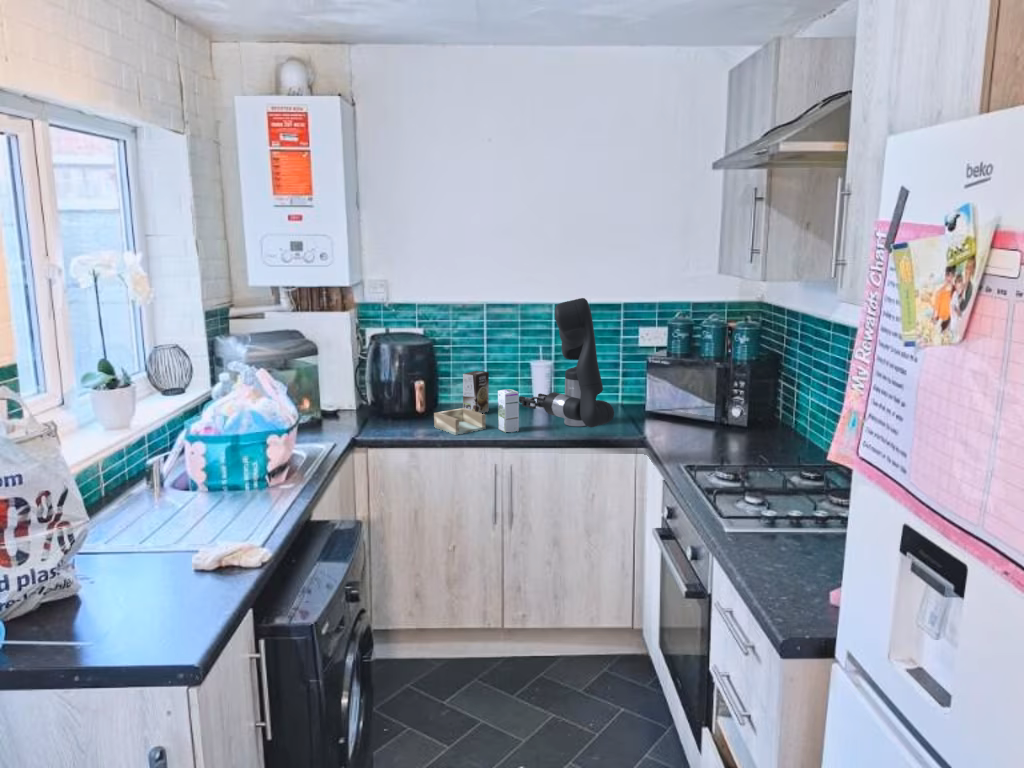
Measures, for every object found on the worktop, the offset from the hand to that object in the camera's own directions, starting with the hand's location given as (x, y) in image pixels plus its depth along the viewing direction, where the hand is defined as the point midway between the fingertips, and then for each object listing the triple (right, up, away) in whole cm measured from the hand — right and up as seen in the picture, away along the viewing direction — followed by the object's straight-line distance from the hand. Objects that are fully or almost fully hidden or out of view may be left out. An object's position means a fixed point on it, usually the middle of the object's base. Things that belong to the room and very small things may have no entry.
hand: (529, 397), depth 261 cm
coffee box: (-20, -7, +38) cm, 44 cm away
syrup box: (-7, -12, +12) cm, 18 cm away
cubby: (-25, -11, +14) cm, 31 cm away
